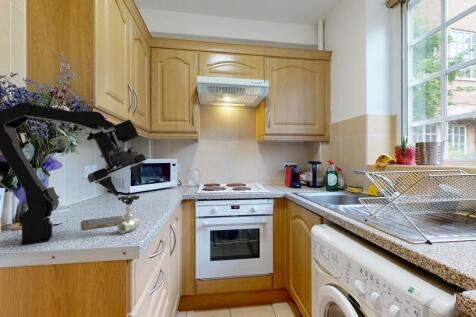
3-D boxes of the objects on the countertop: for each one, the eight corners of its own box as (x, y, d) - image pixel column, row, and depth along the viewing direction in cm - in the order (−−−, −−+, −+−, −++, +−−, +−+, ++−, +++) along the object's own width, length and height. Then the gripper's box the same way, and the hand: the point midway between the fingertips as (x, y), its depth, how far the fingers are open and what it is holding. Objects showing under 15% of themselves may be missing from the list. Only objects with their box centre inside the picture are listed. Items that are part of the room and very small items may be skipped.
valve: (143, 229, 84) (143, 195, 84) (130, 235, 77) (130, 198, 78) (127, 228, 86) (127, 194, 86) (113, 233, 79) (113, 197, 79)
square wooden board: (83, 230, 83) (83, 227, 83) (82, 221, 95) (82, 219, 95) (126, 224, 91) (126, 221, 91) (121, 217, 103) (121, 215, 103)
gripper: (91, 151, 69) (115, 199, 71) (144, 134, 83) (163, 175, 86) (77, 159, 75) (99, 203, 78) (129, 142, 90) (146, 180, 92)
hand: (129, 189), depth 83 cm, fingers open, 9 cm apart
